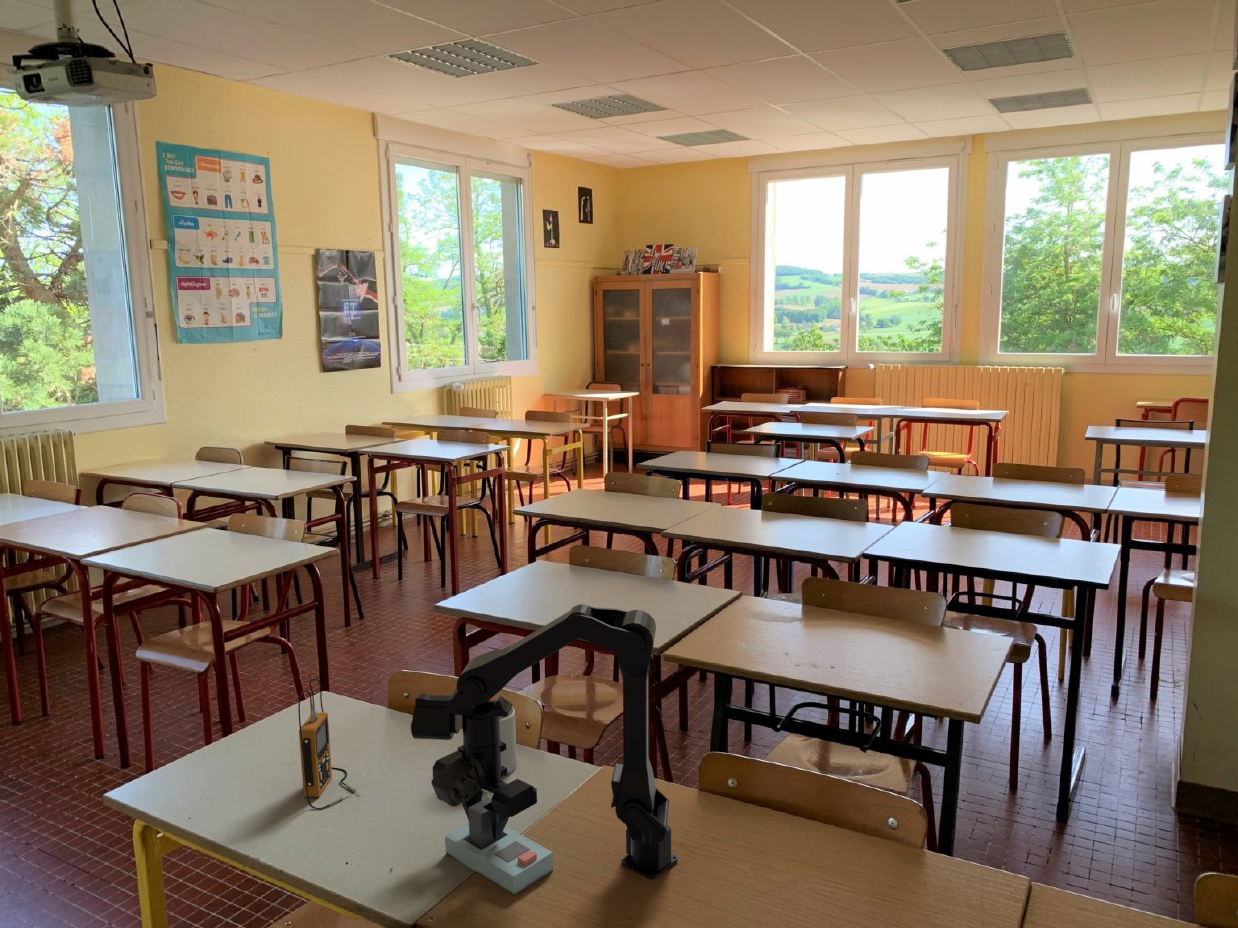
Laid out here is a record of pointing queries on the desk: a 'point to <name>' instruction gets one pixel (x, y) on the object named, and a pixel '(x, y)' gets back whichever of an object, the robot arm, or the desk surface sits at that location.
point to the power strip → (502, 858)
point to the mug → (508, 741)
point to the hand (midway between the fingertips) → (485, 832)
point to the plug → (480, 825)
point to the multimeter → (316, 752)
